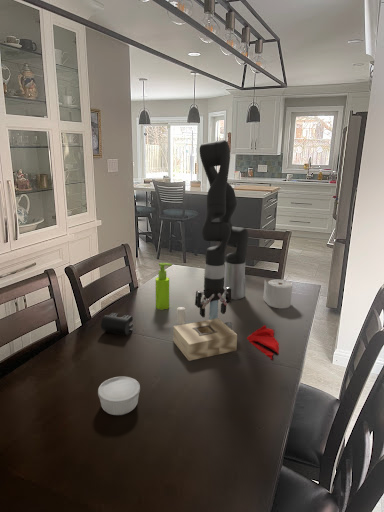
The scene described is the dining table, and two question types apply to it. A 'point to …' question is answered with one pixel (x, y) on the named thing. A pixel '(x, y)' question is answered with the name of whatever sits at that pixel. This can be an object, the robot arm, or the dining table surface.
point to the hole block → (204, 339)
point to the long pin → (213, 310)
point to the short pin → (229, 325)
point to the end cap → (117, 324)
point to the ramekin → (119, 395)
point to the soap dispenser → (162, 288)
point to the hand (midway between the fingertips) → (212, 314)
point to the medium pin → (180, 316)
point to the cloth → (264, 341)
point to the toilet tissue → (278, 293)
